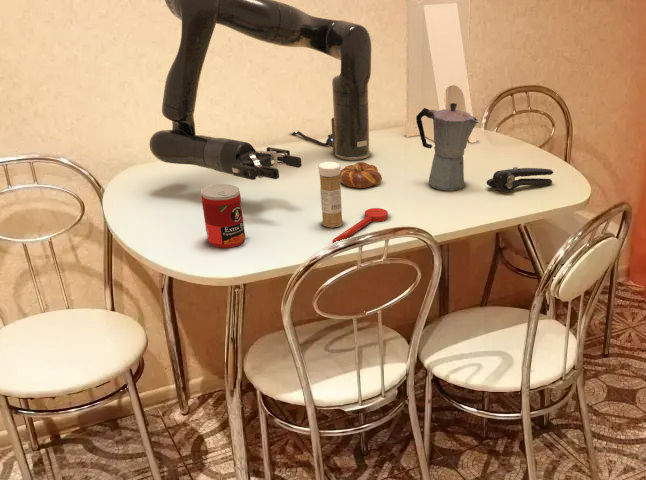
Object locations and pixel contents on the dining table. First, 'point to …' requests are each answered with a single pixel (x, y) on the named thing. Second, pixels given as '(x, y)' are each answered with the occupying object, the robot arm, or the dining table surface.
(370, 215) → the red spoon
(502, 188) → the can opener
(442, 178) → the moka pot
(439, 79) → the cream upright block
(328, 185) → the sprinkles bottle
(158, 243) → the dining table surface
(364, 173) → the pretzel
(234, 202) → the canned food
